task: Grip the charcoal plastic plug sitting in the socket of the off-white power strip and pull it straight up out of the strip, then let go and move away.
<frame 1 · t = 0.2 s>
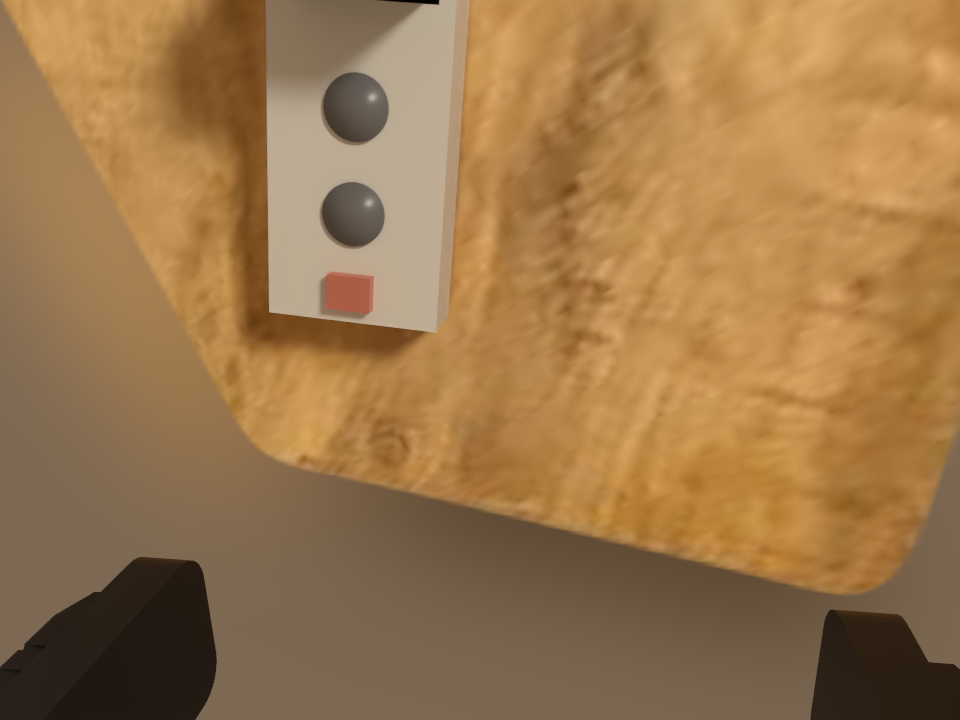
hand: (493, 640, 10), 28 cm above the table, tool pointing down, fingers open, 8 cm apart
power strip: (377, 72, 35), on the table
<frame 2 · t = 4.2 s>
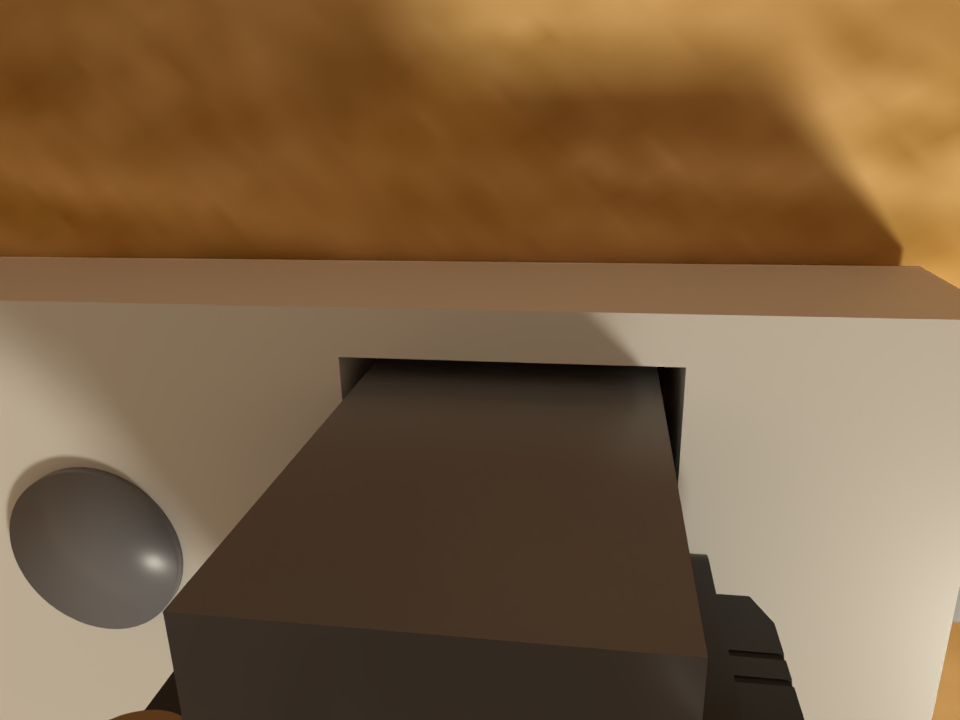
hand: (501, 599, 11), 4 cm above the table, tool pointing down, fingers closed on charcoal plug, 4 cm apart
power strip: (267, 465, 15), on the table
charcoal plug: (499, 624, 10), point 4 cm above the table, slide at 0.0 cm, touching gripper
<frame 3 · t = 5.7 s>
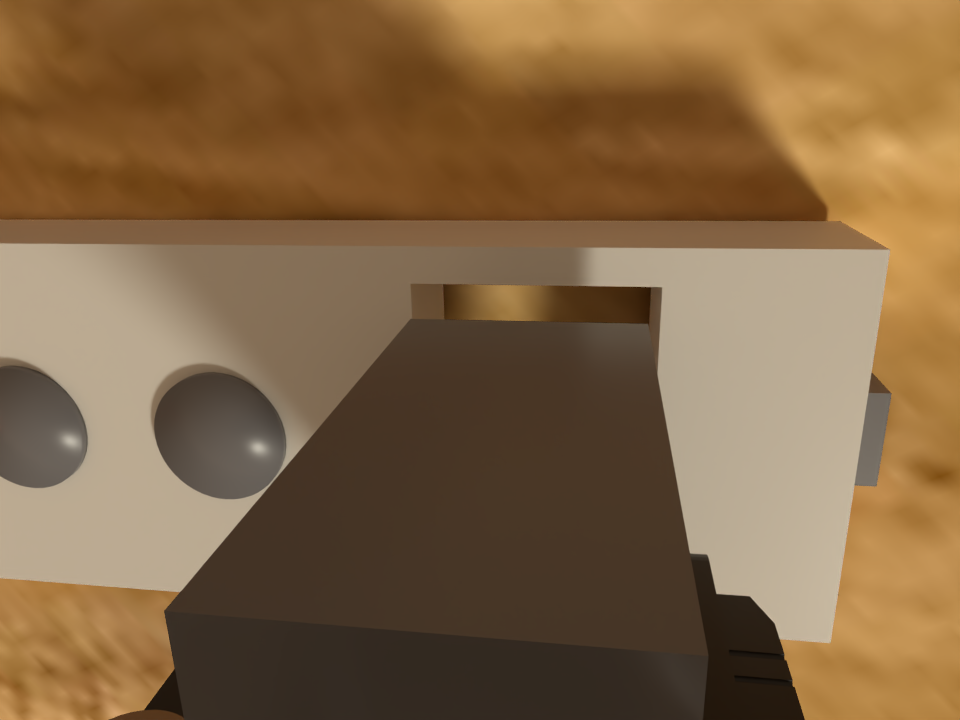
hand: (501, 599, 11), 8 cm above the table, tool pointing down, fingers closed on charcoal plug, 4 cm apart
power strip: (337, 386, 19), on the table
charcoal plug: (498, 623, 10), point 8 cm above the table, slide at 4.2 cm, touching gripper
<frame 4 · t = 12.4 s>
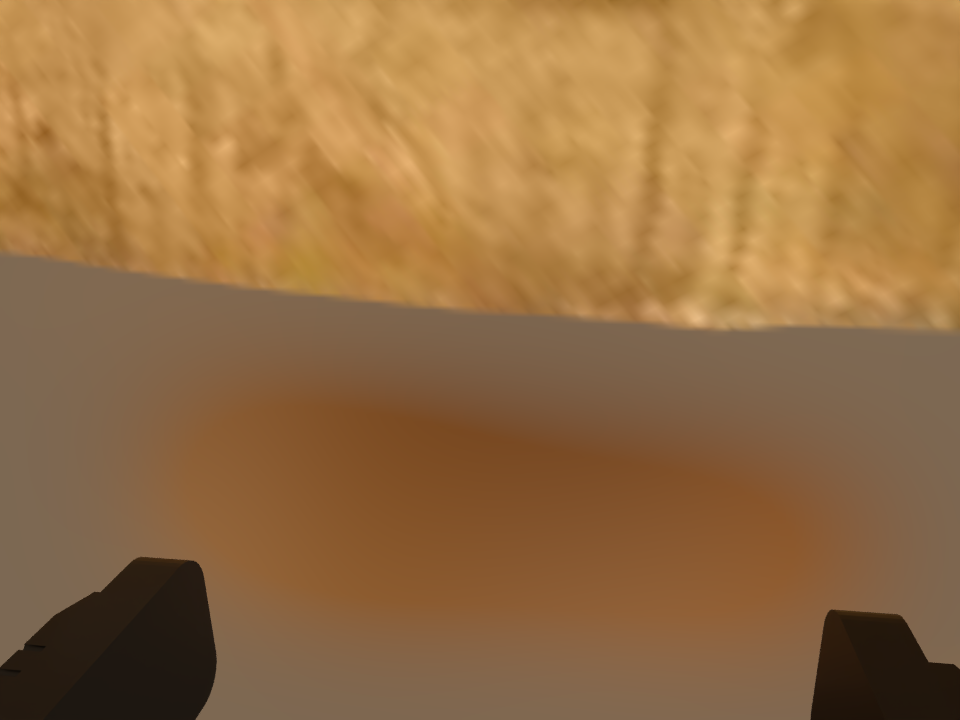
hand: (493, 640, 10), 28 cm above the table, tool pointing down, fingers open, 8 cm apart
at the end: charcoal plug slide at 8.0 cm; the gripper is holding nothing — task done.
